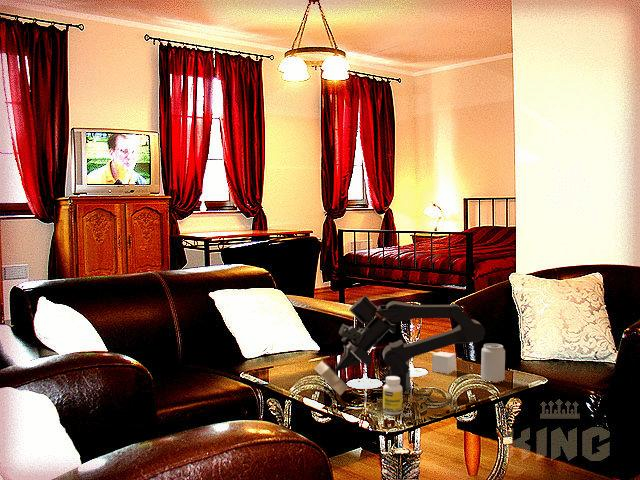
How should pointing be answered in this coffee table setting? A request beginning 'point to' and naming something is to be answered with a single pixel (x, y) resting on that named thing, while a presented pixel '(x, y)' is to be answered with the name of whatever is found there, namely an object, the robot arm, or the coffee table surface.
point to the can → (493, 362)
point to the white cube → (443, 362)
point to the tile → (331, 377)
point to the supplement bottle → (392, 396)
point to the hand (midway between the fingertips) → (336, 369)
